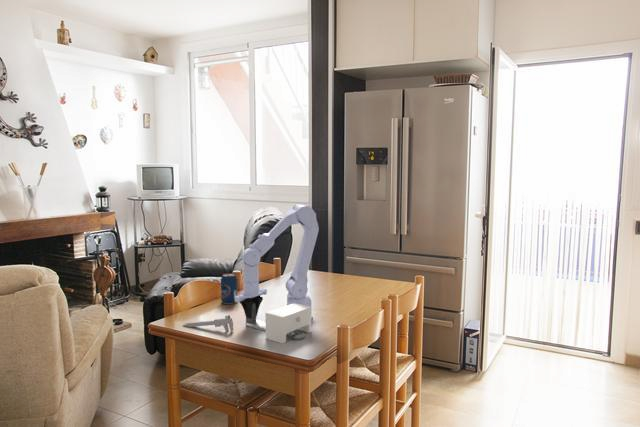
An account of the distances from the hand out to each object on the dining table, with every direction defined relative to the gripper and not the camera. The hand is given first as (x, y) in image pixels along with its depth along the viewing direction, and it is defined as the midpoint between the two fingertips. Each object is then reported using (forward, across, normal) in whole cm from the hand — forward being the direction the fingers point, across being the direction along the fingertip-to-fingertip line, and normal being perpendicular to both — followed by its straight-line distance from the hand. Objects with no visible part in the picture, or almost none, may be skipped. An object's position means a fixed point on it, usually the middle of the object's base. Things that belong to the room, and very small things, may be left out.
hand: (251, 317), depth 183 cm
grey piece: (+3, 0, +7) cm, 7 cm away
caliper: (+3, +14, -8) cm, 16 cm away
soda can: (+3, -14, -28) cm, 32 cm away
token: (+3, 0, +23) cm, 23 cm away
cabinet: (+3, 0, +19) cm, 19 cm away
